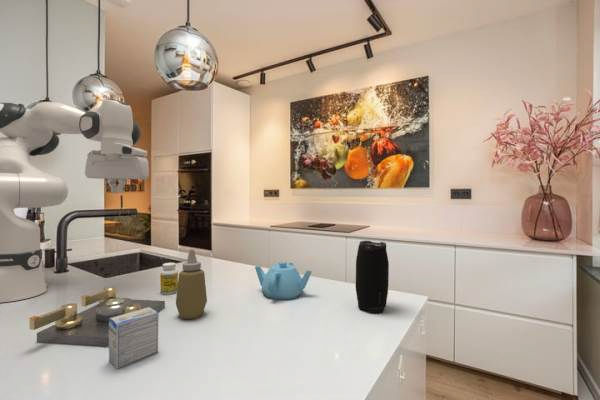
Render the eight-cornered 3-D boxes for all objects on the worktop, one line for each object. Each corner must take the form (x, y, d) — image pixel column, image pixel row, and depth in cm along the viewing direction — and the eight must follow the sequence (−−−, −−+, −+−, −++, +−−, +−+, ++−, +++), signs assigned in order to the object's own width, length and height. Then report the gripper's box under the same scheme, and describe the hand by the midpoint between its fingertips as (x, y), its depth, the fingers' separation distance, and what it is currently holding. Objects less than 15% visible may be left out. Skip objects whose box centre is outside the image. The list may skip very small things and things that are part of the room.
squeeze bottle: (173, 323, 75) (173, 253, 75) (177, 310, 83) (177, 247, 83) (206, 319, 77) (206, 251, 77) (207, 308, 85) (207, 246, 85)
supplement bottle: (176, 288, 102) (176, 261, 102) (179, 293, 98) (179, 264, 98) (159, 291, 99) (159, 263, 99) (161, 296, 95) (161, 266, 95)
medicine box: (149, 345, 64) (149, 306, 64) (158, 352, 61) (159, 311, 61) (108, 361, 58) (108, 317, 58) (116, 370, 55) (116, 324, 55)
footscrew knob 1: (70, 318, 72) (70, 299, 72) (87, 320, 71) (87, 301, 71) (22, 339, 62) (22, 317, 62) (41, 341, 61) (41, 319, 61)
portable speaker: (353, 302, 91) (354, 239, 91) (384, 304, 90) (385, 240, 90) (357, 313, 82) (358, 244, 82) (391, 315, 82) (392, 245, 82)
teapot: (253, 290, 102) (253, 259, 102) (291, 284, 109) (292, 255, 109) (269, 304, 89) (270, 269, 89) (312, 297, 96) (313, 264, 96)
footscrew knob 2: (109, 299, 85) (109, 283, 85) (124, 301, 84) (124, 285, 84) (75, 314, 75) (75, 295, 75) (91, 316, 74) (91, 297, 74)
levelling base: (36, 342, 65) (36, 316, 65) (110, 305, 87) (110, 286, 87) (108, 346, 63) (108, 320, 63) (164, 307, 85) (164, 288, 85)
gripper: (79, 148, 93) (79, 192, 93) (139, 149, 91) (139, 193, 91) (95, 151, 99) (95, 192, 100) (152, 152, 97) (151, 193, 97)
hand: (116, 193), depth 95 cm, fingers closed
